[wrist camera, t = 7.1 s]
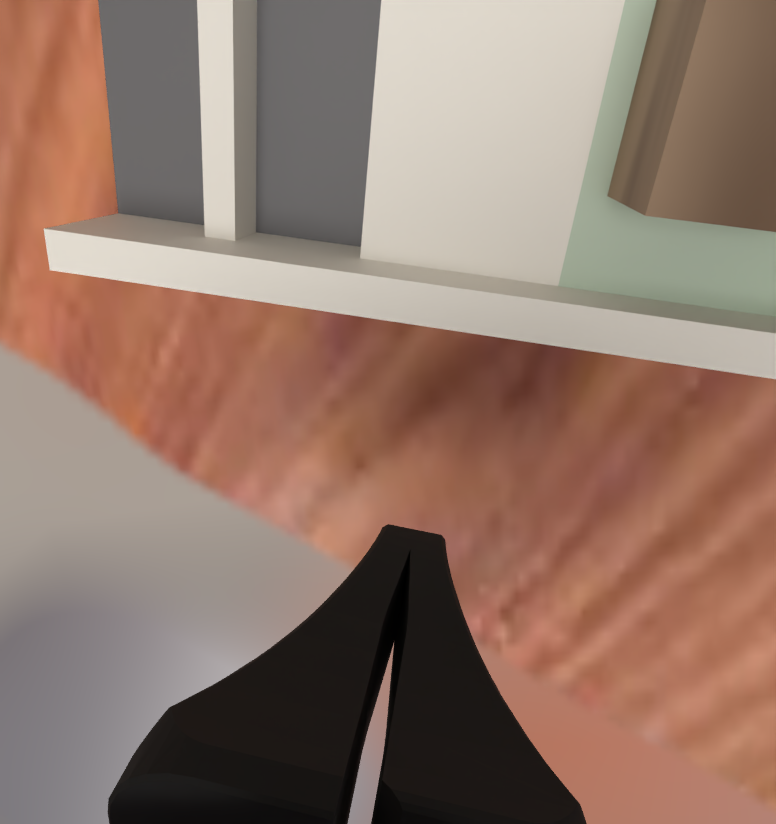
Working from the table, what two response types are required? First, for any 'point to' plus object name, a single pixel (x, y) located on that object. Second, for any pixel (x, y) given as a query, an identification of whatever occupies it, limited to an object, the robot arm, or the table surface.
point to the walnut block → (704, 116)
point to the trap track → (411, 175)
